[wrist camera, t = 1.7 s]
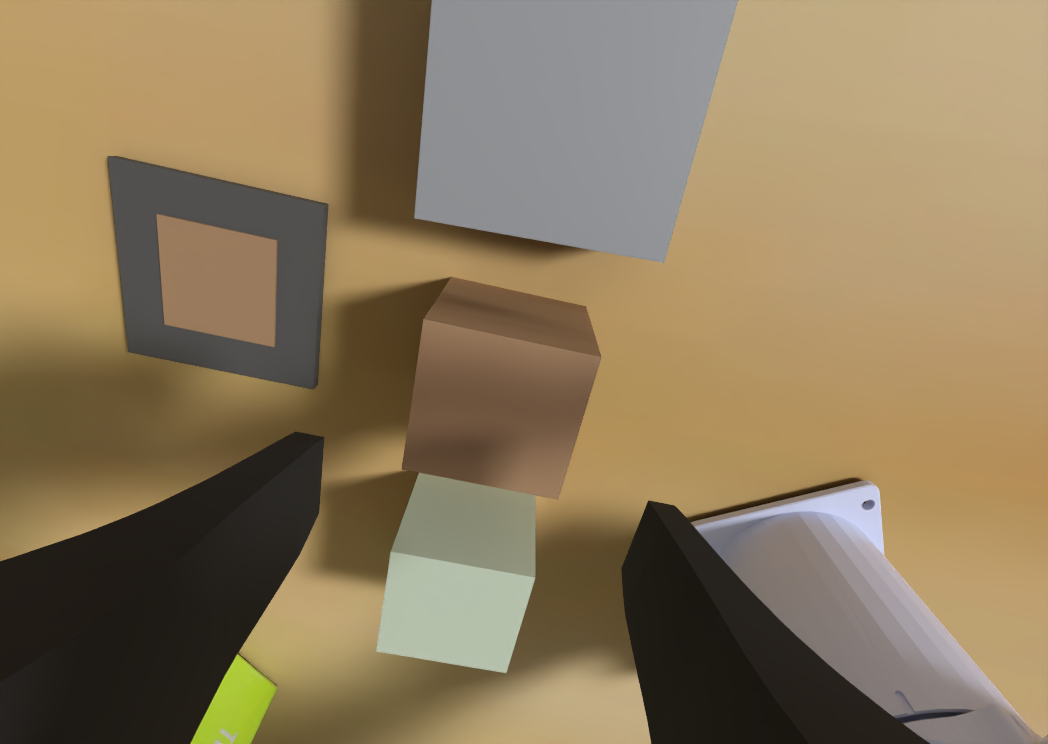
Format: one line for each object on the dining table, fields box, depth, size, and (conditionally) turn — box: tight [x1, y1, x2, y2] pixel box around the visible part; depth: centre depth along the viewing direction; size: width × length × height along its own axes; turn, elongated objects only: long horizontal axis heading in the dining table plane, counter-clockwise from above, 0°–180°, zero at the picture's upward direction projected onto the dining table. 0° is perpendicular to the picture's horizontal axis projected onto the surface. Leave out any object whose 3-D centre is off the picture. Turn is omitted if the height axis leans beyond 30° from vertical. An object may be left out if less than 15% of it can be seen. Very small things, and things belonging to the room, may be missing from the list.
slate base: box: [414, 0, 738, 263], centre depth 14 cm, size 7×7×4 cm
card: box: [108, 156, 328, 389], centre depth 18 cm, size 7×7×1 cm
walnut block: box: [402, 277, 601, 500], centre depth 17 cm, size 5×5×5 cm
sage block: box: [376, 473, 535, 673], centre depth 21 cm, size 5×5×5 cm
